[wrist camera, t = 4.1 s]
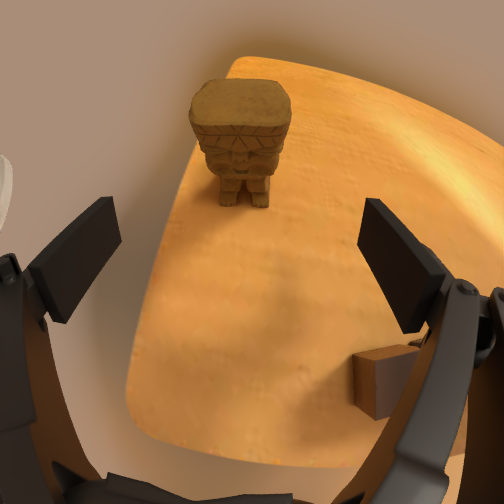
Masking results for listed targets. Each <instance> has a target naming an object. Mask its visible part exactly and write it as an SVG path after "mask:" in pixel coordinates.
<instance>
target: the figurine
mask: <svg viewBox="0 0 504 504" xmlns="http://www.w3.org/2000/svg"><path fill="white" fill-rule="evenodd" d="M291 116H292V112H291V103H290V98H289V96H288V94H287V93H286V92H285V90H284V89H283V87H282V86H281V85H280V84H279V83H278V82H277V81H273V80H264V79H215V80H210V81H208V82H207V83H205V84H204V85H203V87H202V88H201V90H200V91H198V92H197V93H196V94H195V95H194V97H193V98H192V103H191V108H190V111H189V119H190V123H191V125H192V128H193V131H194V133H195V135H196V137H197V139H198V140H199V145H200V148H201V151H203V152H204V153H205V157H206V163H207V166H208V168H209V170H210V171H211V172H212V173H214V174H215V175H220V176H221V178H222V180H221V191H220V205H221V206H235V205H236V199H237V193H238V191H240V189H241V184H242V180H243V179H246V185H247V190H248V192H251V194H252V204H253V207H261V208H265V207H269V189H270V176H271V175H273V174H274V171H275V170H276V169H277V166H278V162H279V153H280V152H281V151H282V149H283V145H284V139H285V137H286V135H287V132H288V128H289V125H290V122H291Z"/></svg>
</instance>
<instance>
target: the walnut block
mask: <svg viewBox="0 0 504 504" xmlns="http://www.w3.org/2000/svg"><path fill="white" fill-rule="evenodd" d="M420 349H421V348H418V347H416V346H407V345H395V346H390V347H386V348H381V349H376V350H371V351H366V352H361V353H356V354H353V373H354V405H356V406H357V407H358V408H359V409H361V410H362V411H363V412H365V413H366V414H367V415H369V416H370V417H371V418H372V419H374V420H375V421H376V420H380V419H383V418H387V417H390V416H391V415H392V413H393V411H394V409H395V407H396V405H397V403H398V400H399V398H400V396H401V394H402V392H403V390H404V388H405V385H406V383H407V381H408V379H409V376H410V374H411V371H412V369H413V367H414V364H415V362H416V359H417V357H418V354H419V351H420Z"/></svg>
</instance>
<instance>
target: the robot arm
mask: <svg viewBox="0 0 504 504" xmlns="http://www.w3.org/2000/svg"><path fill="white" fill-rule="evenodd" d="M121 242H122V240H121V236H120V231H119V227H118V222H117V217H116V212H115V207H114V202H113V197H112V196H111V197H101V198H99V199H98V200H97V201H96V202H94V203H93V204H92V205H91V206H90V207H88V208H87V209H86V210H85V211H84V212H83V213H82V214H80V215H79V216H78V217H77V218H76V219H75V220H74V221H73V222H71V223H70V224H69V225H68V226H67V227H66V228H65V229H64V230H63V231H62V232H61V233H60V234H59V235H58V236H56V237H55V238H54V239H53V240H52V241H51V242H50V243H49V244H48V245H47V246H46V247H45V248H44V249H43V250H42V251H41V252H40V253H39V254H38V255H37V257H36V258H35V259H34V260H33V261H32V262H31V263H30V264H29V265H28V266H27V268H26V269H25V270H24V271H23V272H22V271H21V268H20V266H19V264H18V261H17V258H16V256H15V254H13V253H9V254H6V255H3V256H1V257H0V504H313V503H310V502H306V501H302V500H296V499H293V495H292V493H289V494H257V495H256V494H250V495H249V494H243V495H238V496H232V497H226V498H219V499H211V500H202V501H192V500H188V499H186V498H183V497H180V496H178V495H175V494H173V493H170V492H168V491H166V490H163V489H161V488H159V487H156V486H154V485H152V484H150V483H147V482H143V481H139V480H135V479H131V478H127V477H123V476H120V475H116V474H113V473H110V472H108V474H107V478H106V479H102V478H101V477H100V475H99V474H98V472H97V471H96V470H95V468H94V467H93V466H92V465H91V464H90V462H89V461H88V459H87V458H86V456H85V453H84V451H83V449H82V446H81V444H80V441H79V439H78V437H77V434H76V432H75V429H74V426H73V423H72V420H71V418H70V415H69V412H68V409H67V406H66V403H65V399H64V396H63V393H62V389H61V386H60V382H59V378H58V375H57V371H56V367H55V362H54V359H53V353H52V349H51V344H50V338H49V334H48V327H47V323H46V320H45V319H44V317H43V316H44V315H45V314H46V312H47V311H48V313H49V315H50V317H51V319H52V321H53V322H58V323H63V324H66V323H67V322H68V320H69V318H70V317H71V315H72V313H73V312H74V310H75V309H76V307H77V305H78V304H79V302H80V301H81V299H82V298H83V296H84V295H85V293H86V291H87V290H88V289H89V287H90V286H91V284H92V282H93V281H94V280H95V278H96V277H97V275H98V274H99V272H100V271H101V270H102V268H103V267H104V265H105V264H106V262H107V261H108V260H109V258H110V257H111V256H112V254H113V253H114V251H115V250H116V249H117V247H118V246H119V245H120V243H121ZM357 246H358V247H359V249H360V251H361V253H362V254H363V256H364V258H365V260H366V262H367V263H368V265H369V267H370V269H371V271H372V272H373V274H374V276H375V278H376V280H377V282H378V284H379V286H380V287H381V289H382V291H383V293H384V295H385V297H386V299H387V301H388V303H389V305H390V307H391V309H392V311H393V313H394V315H395V317H396V319H397V321H398V324H399V326H400V328H401V330H402V332H403V334H409V333H417V332H420V330H421V328H422V326H423V324H424V322H425V321H426V322H427V324H428V326H429V329H428V331H427V333H426V334H425V336H424V338H423V340H422V342H421V343H420V345H419V347H418V348H421V349H420V351H419V354H418V357H417V359H416V362H415V364H414V367H413V369H412V371H411V374H410V376H409V379H408V381H407V383H406V385H405V388H404V390H403V392H402V394H401V396H400V398H399V400H398V403H397V405H396V407H395V409H394V411H393V413H392V415H391V416H390V418H389V420H388V422H387V424H386V426H385V428H384V430H383V431H382V433H381V435H380V437H379V438H378V440H377V442H376V444H375V445H374V447H373V449H372V450H371V452H370V454H369V455H368V457H367V458H366V460H365V461H364V463H363V465H362V466H361V468H360V469H359V471H358V472H357V474H356V475H355V476H354V478H353V479H352V480H351V482H350V483H349V484H348V485H347V486H346V487H345V488H344V489H343V490H342V491H341V492H340V493H339V495H338V496H337V497H336V498H335V499H334V500H333V502H332V503H331V504H441V503H442V501H443V499H444V496H445V494H446V492H447V489H448V486H449V477H448V476H447V475H446V474H445V473H444V469H445V466H446V463H447V460H448V458H449V455H450V452H451V450H452V447H453V444H454V441H455V438H456V435H457V432H458V428H459V425H460V422H461V418H462V415H463V411H464V407H465V403H466V399H467V394H468V421H467V438H466V449H465V458H464V466H463V472H462V478H461V484H460V489H459V494H458V499H457V503H456V504H504V289H503V288H500V287H496V288H494V290H493V291H492V293H491V295H490V297H486V296H481V295H480V294H479V291H478V290H477V288H476V287H475V286H474V285H473V284H471V283H470V282H468V281H466V280H463V279H455V278H454V276H453V275H452V274H451V273H450V271H449V270H448V269H447V268H446V267H445V265H444V264H443V263H442V262H441V261H440V259H439V258H437V256H436V255H435V254H434V252H433V251H432V250H431V249H430V248H428V247H427V246H425V245H424V244H422V243H420V242H419V241H418V239H417V238H416V237H415V236H414V235H413V234H412V233H411V232H410V231H409V229H408V228H407V227H406V226H405V225H404V224H403V223H402V222H401V221H400V220H399V219H398V218H397V217H396V216H395V214H394V213H393V212H392V211H391V210H390V209H389V208H388V207H387V206H386V205H385V204H384V203H383V202H382V201H381V200H380V199H375V198H366V201H365V206H364V212H363V217H362V223H361V228H360V233H359V238H358V242H357ZM495 341H496V342H495ZM494 342H495V345H493V344H494Z"/></svg>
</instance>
